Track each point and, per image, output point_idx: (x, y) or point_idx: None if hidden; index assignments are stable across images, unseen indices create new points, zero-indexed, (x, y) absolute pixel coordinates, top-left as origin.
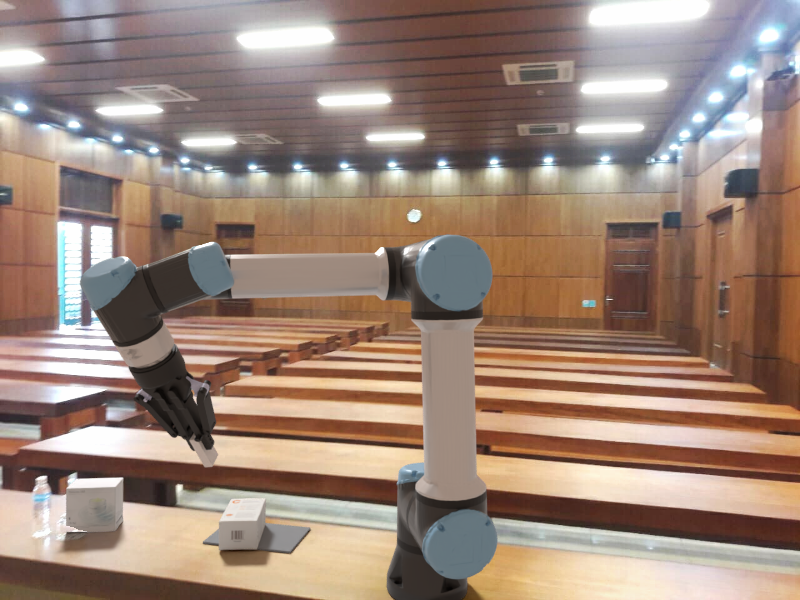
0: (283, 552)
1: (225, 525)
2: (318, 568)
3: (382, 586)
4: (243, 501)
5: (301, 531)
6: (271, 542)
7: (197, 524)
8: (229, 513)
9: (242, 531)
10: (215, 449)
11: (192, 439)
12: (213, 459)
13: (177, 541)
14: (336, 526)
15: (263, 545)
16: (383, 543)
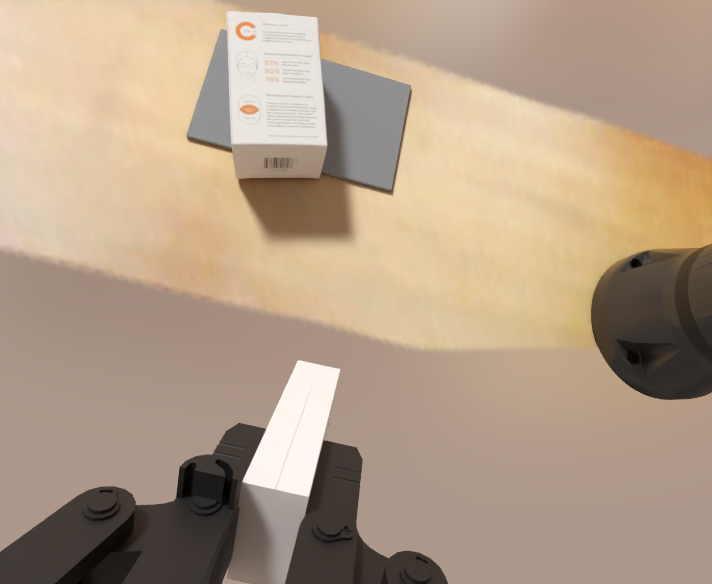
0: (376, 187)
1: (249, 150)
2: (458, 254)
3: (583, 322)
4: (264, 32)
5: (396, 102)
6: (343, 148)
7: (145, 42)
8: (247, 100)
9: (290, 159)
10: (335, 386)
11: (250, 578)
12: (329, 419)
13: (122, 123)
14: (460, 79)
15: (329, 160)
16: (561, 158)
